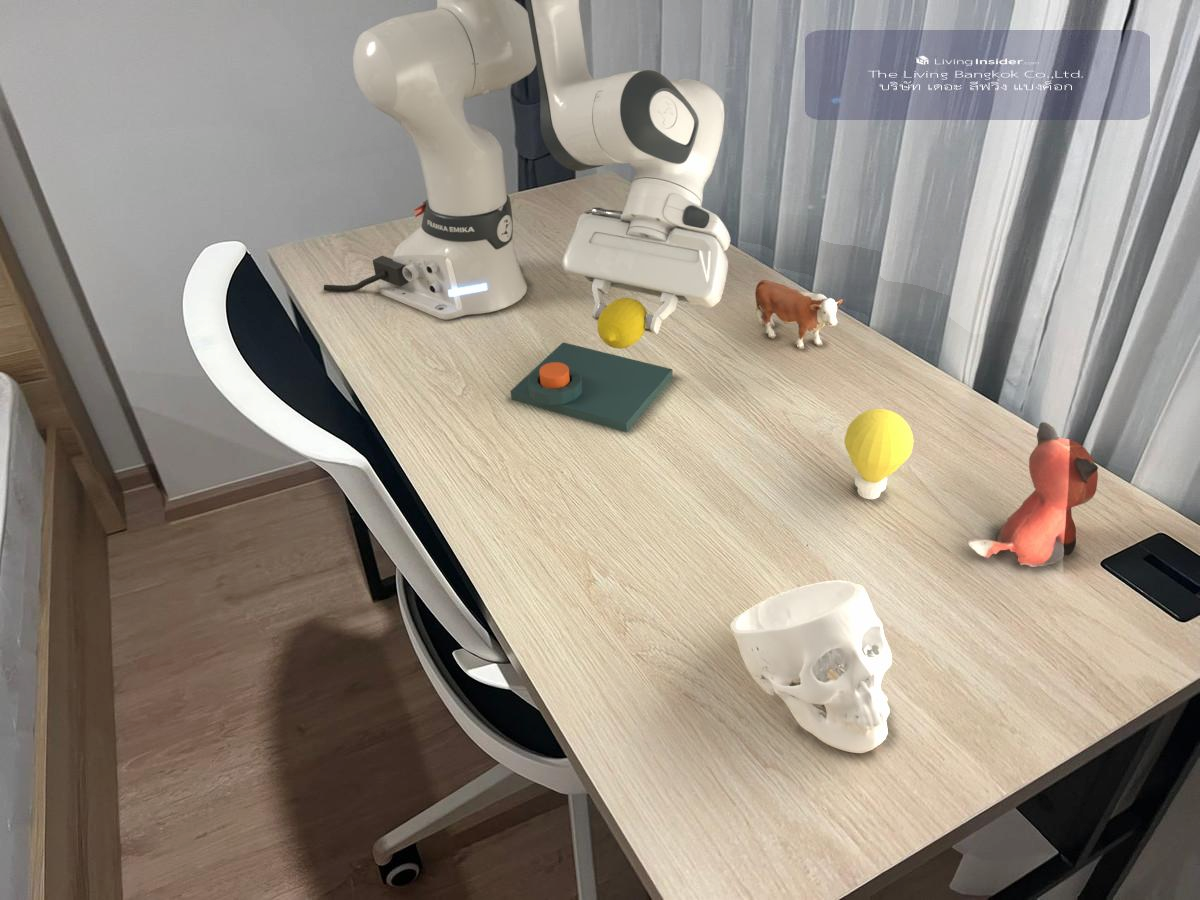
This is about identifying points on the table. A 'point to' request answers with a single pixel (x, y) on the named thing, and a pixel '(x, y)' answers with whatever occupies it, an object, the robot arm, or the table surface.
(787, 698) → the skull bowl
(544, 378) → the button
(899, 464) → the light bulb
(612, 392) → the scale
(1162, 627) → the table surface
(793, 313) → the bull figurine
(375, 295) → the table surface
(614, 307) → the lemon
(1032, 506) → the stuffed fox
